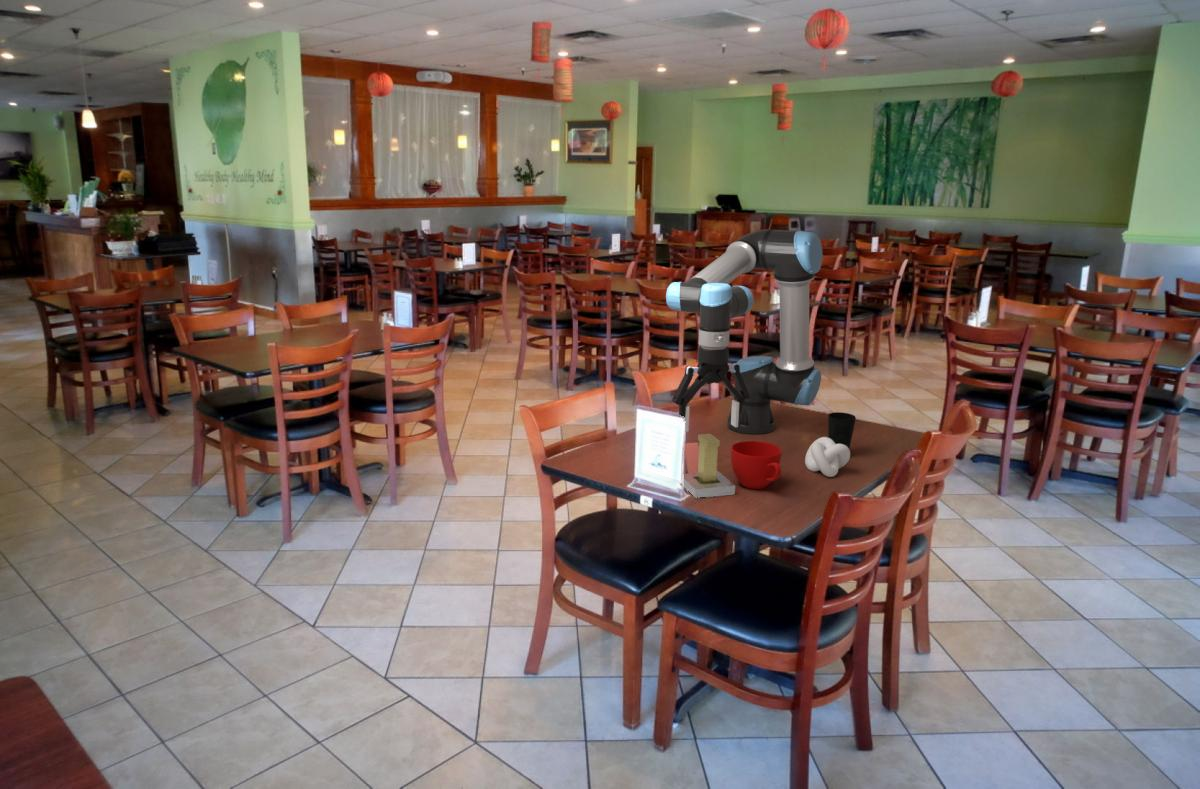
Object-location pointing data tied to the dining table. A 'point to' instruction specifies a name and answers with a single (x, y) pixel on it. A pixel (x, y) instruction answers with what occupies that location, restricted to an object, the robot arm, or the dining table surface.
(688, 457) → the reddish flat block
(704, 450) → the khaki tall block
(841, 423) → the cup
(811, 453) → the white knot
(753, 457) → the ceramic cup
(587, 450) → the dining table surface
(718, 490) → the socket block
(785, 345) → the robot arm
